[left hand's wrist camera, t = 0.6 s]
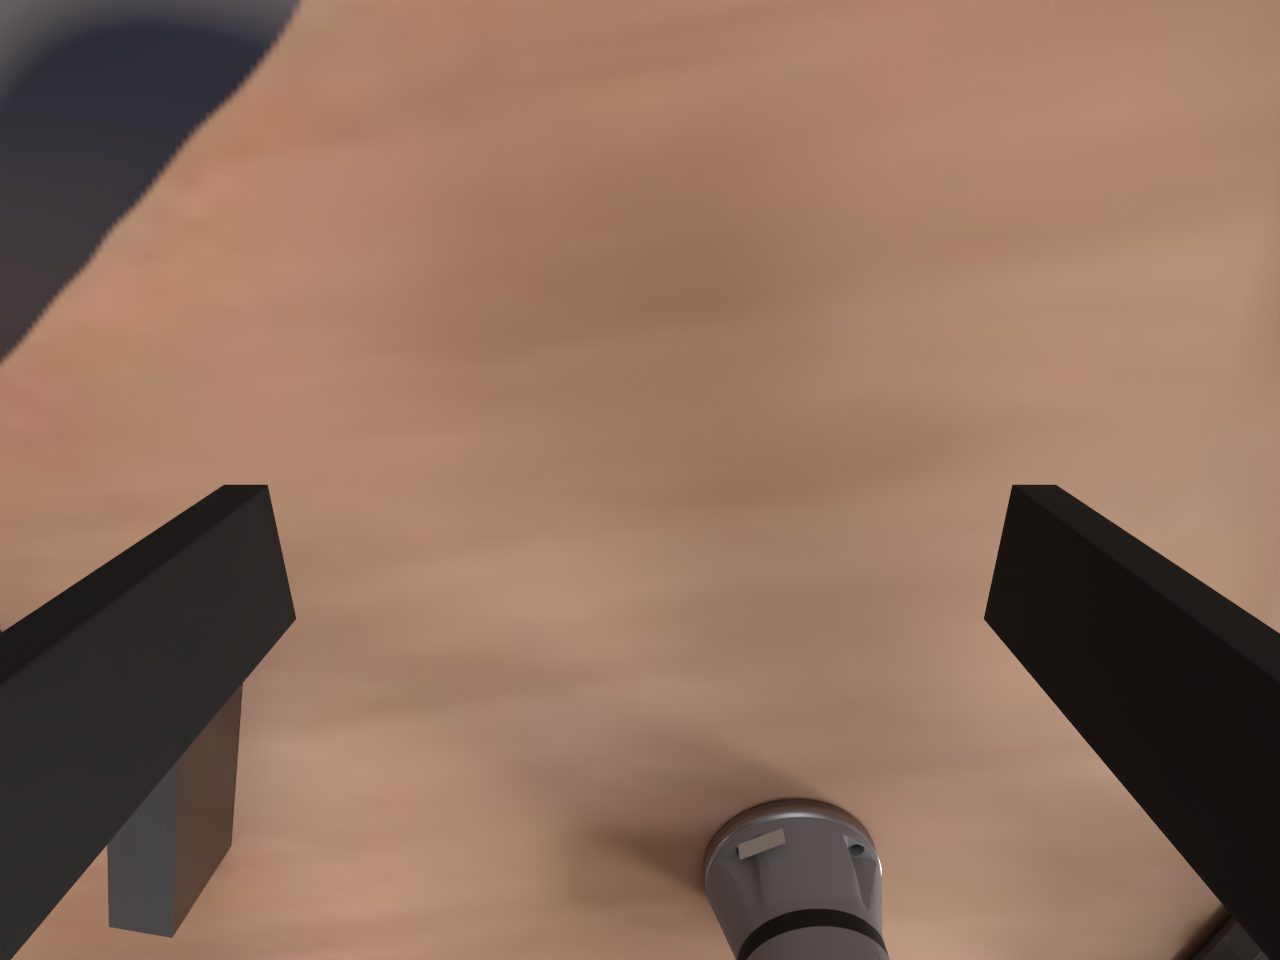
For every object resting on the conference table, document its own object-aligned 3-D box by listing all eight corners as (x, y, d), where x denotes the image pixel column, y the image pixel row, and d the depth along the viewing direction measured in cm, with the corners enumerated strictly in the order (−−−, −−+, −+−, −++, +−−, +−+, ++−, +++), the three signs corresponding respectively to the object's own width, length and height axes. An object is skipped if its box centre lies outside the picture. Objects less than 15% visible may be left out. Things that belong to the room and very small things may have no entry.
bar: (182, 608, 52) (103, 677, 44) (246, 622, 53) (179, 693, 45) (176, 835, 61) (108, 927, 53) (231, 846, 61) (172, 938, 53)
